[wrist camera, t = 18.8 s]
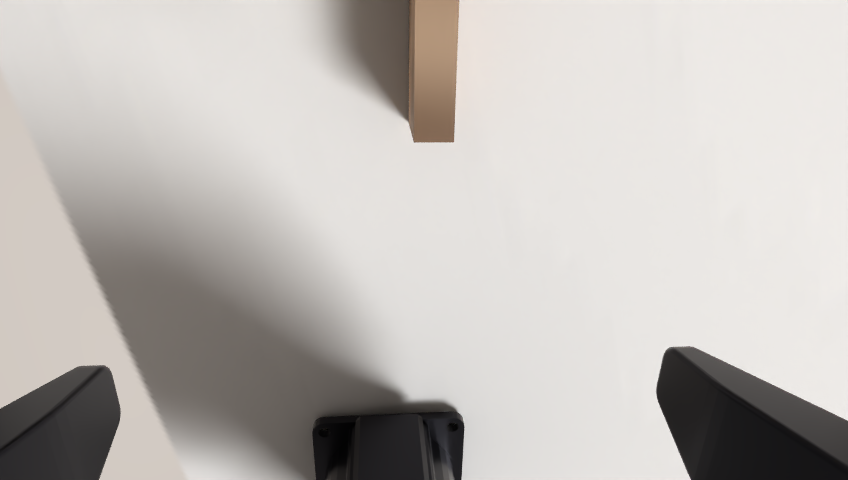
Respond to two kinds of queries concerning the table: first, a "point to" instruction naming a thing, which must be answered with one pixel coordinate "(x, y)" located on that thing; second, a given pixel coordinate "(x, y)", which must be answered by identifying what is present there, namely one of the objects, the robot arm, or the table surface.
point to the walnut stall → (432, 69)
